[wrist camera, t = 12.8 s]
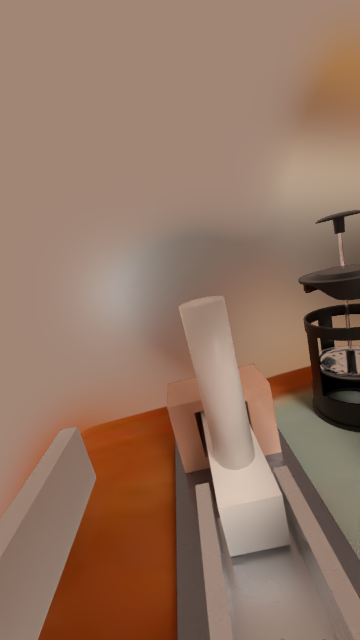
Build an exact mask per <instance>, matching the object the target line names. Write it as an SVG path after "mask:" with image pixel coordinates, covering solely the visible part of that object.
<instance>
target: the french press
mask: <svg viewBox="0 0 360 640" xmlns="http://www.w3.org/2000/svg"><path fill="white" fill-rule="evenodd" d="M358 213H360V210H353V211H347V212H342V213H337V214H334V215H330V216H327V217H325V218H322V219H320V220H319V221H317V222H316V224H317V223H321V222H325V221H329V220H333V225H334V232H335V234H338V241H339V252H340V263H341V266H338V267H333V268H329V269H325V270H322V271H317V272H314V273H310V274H307V275H305V276H302V277H300V278H299V283H300V284H303V285H304V291H305V292H306V293H310V292H312V291H315V290H318V289H319V290H321V291H322V292H324V293H326V294H327V295H329V296H331V297H333V298H335V299H338V300H344V305H336V306H331V307H326V308H322V309H318V310H315V311H312V312H310V313H308V314H307V315H306V316H305V317H304V326H305V331H306V333H307V338H308V345H309V353H310V361H311V369H312V376H313V380H312V387H313V395H314V398H313V408H314V410H315V412H316V413H317V414H318V416H319V417H321V418H322V419H323V420H324V421H326V422H328V423H330V424H331V425H334V426H336V427H339V428H342V429H345V430H349V431H355V432H360V404H354V403H346V402H341V401H337V400H334V399H331V398H329V397H327V396H328V395H329V394H331V393H333V392H336V391H341V390H359V391H360V346H352V344H351V341H352V340H360V327H353V328H350V321H349V314H360V304H348V300H354V299H360V264H351V265H344V254H343V253H344V252H343V242H342V232H345V224H344V217H345V216H349V215H354V214H358ZM337 315H345V317H346V328H333V327H332V317H331V316H337ZM317 320H318V324H319V326H315V325H311V323H312V322H314V321H317ZM317 338H320V341H321V349H322V351H320V352H319V350H318V342H317ZM334 340H339V341H348V346H339V347H334Z"/></svg>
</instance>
